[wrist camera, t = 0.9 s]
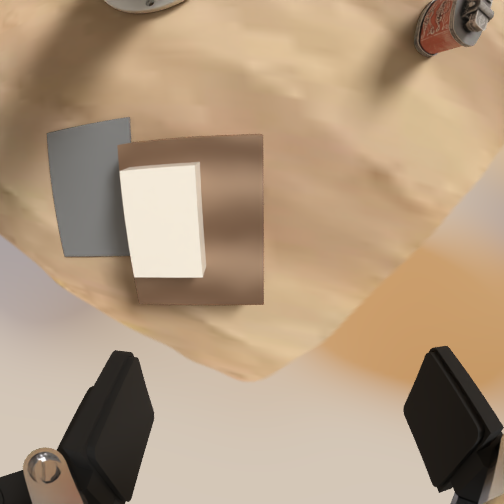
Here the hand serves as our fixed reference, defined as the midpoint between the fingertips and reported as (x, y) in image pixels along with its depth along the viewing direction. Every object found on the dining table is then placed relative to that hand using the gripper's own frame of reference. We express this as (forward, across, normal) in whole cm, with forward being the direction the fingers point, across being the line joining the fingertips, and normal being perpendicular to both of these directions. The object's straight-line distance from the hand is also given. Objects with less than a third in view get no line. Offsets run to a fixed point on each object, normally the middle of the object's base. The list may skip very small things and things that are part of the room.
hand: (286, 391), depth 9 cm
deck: (+22, +6, 0) cm, 23 cm away
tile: (+18, +8, -1) cm, 20 cm away
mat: (+22, +18, -3) cm, 28 cm away
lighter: (+22, -17, -21) cm, 35 cm away
